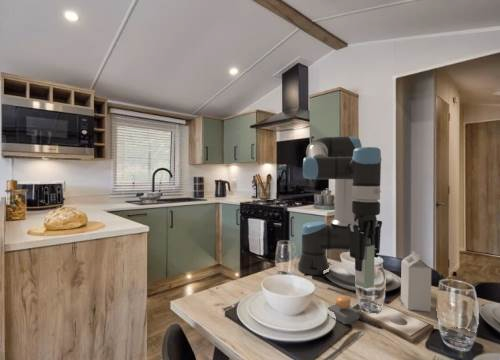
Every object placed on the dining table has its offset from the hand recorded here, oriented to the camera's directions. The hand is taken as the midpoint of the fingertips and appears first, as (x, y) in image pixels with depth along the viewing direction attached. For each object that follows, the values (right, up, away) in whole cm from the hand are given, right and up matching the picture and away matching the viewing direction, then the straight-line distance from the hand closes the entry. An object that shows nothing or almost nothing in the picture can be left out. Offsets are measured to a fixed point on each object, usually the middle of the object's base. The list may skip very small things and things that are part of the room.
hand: (364, 279), depth 78 cm
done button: (-3, -12, +9) cm, 15 cm away
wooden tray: (+12, -16, +7) cm, 21 cm away
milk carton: (+25, -16, +16) cm, 34 cm away
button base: (-3, -16, +9) cm, 18 cm away
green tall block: (0, -2, 0) cm, 2 cm away
